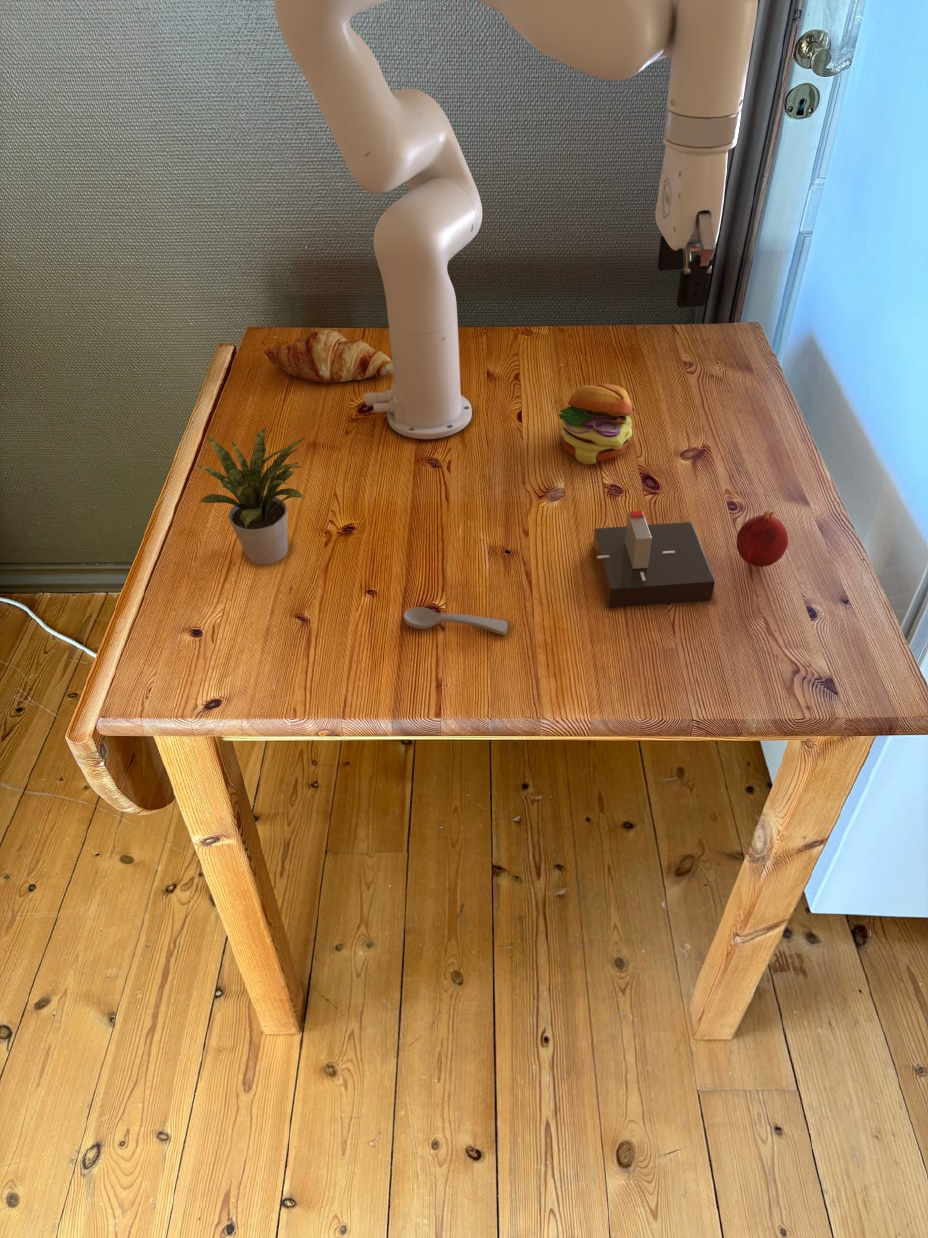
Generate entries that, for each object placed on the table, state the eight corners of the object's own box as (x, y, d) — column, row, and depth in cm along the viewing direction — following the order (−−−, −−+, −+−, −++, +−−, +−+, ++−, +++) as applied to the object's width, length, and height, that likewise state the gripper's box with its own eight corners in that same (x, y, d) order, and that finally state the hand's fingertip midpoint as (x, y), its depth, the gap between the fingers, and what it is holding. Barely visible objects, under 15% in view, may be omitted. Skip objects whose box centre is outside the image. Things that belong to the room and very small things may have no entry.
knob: (647, 568, 108) (652, 536, 104) (632, 569, 108) (636, 537, 104) (639, 540, 111) (643, 509, 108) (624, 541, 111) (627, 510, 108)
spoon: (405, 612, 108) (405, 600, 106) (507, 626, 107) (509, 613, 106) (401, 630, 106) (400, 618, 104) (504, 644, 105) (506, 632, 103)
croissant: (401, 386, 151) (404, 335, 149) (387, 388, 142) (389, 334, 140) (277, 376, 154) (278, 325, 152) (254, 377, 145) (255, 324, 142)
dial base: (603, 608, 107) (605, 588, 105) (588, 547, 115) (589, 527, 113) (711, 600, 108) (715, 580, 106) (688, 540, 116) (691, 520, 113)
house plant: (333, 585, 112) (313, 473, 101) (217, 603, 110) (183, 492, 99) (322, 514, 122) (303, 405, 111) (215, 530, 120) (185, 421, 109)
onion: (781, 583, 109) (796, 530, 104) (731, 578, 110) (743, 525, 105) (780, 552, 114) (794, 499, 108) (731, 547, 114) (742, 494, 109)
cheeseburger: (547, 460, 129) (553, 389, 124) (568, 436, 138) (575, 369, 132) (618, 473, 126) (628, 401, 121) (635, 448, 134) (645, 380, 129)
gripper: (647, 104, 102) (633, 257, 114) (685, 156, 90) (664, 323, 101) (715, 100, 102) (693, 254, 114) (762, 152, 90) (732, 319, 102)
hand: (680, 286), depth 108 cm, fingers open, 9 cm apart
